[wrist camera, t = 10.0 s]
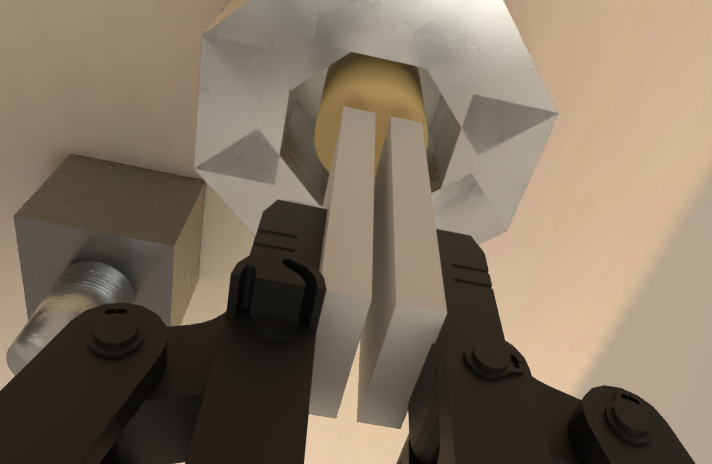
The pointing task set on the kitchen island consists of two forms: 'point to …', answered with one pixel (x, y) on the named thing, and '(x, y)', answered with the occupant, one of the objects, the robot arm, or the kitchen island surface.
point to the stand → (105, 246)
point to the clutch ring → (387, 41)
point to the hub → (367, 98)
